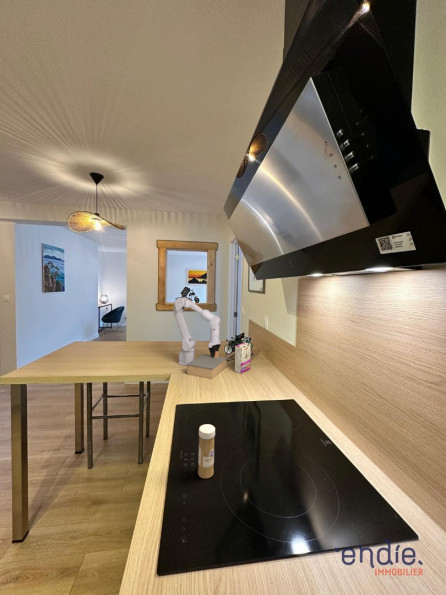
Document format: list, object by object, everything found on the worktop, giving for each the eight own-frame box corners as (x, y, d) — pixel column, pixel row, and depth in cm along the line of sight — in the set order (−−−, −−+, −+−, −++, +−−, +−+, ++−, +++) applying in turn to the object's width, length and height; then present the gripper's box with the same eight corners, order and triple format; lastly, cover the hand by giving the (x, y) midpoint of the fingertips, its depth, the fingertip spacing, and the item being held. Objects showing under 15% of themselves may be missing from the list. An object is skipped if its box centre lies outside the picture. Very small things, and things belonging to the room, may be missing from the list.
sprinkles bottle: (209, 481, 70) (211, 434, 69) (195, 476, 71) (196, 430, 71) (216, 470, 74) (217, 425, 73) (202, 465, 76) (203, 422, 75)
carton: (187, 374, 148) (187, 365, 148) (204, 363, 168) (204, 355, 168) (212, 379, 142) (212, 369, 142) (226, 367, 162) (226, 358, 162)
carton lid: (186, 364, 147) (187, 358, 147) (204, 354, 168) (204, 348, 168) (212, 369, 141) (213, 362, 141) (227, 358, 162) (227, 352, 162)
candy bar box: (243, 367, 163) (244, 342, 162) (250, 369, 160) (251, 343, 159) (233, 372, 154) (234, 345, 153) (240, 374, 151) (241, 347, 150)
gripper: (215, 338, 154) (215, 360, 155) (224, 333, 167) (224, 354, 168) (205, 337, 157) (204, 358, 157) (214, 332, 170) (214, 352, 171)
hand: (214, 356), depth 163 cm, fingers open, 4 cm apart
